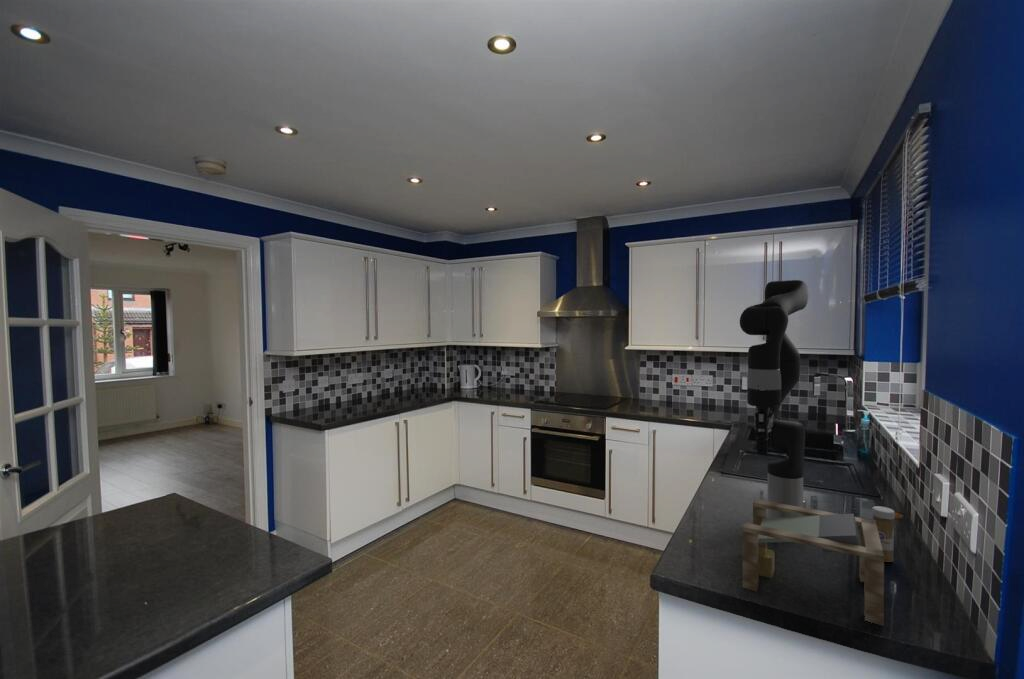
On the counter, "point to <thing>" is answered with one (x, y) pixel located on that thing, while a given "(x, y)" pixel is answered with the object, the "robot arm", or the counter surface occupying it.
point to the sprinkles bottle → (885, 530)
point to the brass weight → (766, 562)
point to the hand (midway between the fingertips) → (764, 450)
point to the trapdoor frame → (868, 551)
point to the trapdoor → (816, 528)
